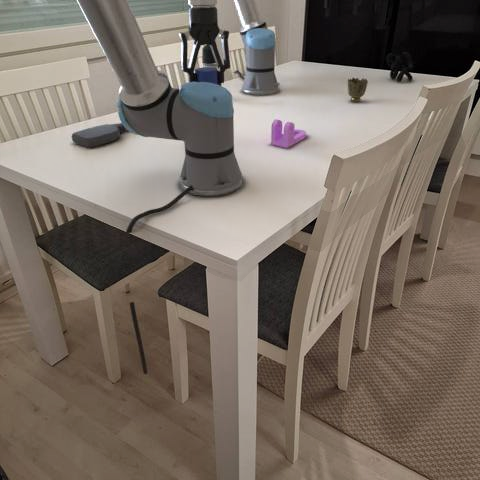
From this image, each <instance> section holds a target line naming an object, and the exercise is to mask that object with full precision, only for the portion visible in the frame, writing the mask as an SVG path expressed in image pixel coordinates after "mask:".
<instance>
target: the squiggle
mask: <svg viewBox="0 0 480 480" xmlns="http://www.w3.org/2000/svg"><path fill="white" fill-rule="evenodd" d="M401 57H402V59H401ZM391 59H392V60H391ZM393 60H394V61H393ZM385 61H386V64H387V67H390V68H391V70H390V72H389V78H390V79H391V80H395V79H396V81H397V82H399V83H400V82H402V81H403V79H404V76H406V78H407V80H408V81H412V80H413V79H414V77H413V75H412V74H411V73H410V72H409V71H410V70H412V69H413V68H414V64H413V61H412V57H411V54H410V53H409V52H408V51H403V53H402V54H401V55H396V54H394V53H392V52H390V53H387V55H386V57H385ZM406 62H407V65H408V66H407V67H405V66H404V65H405V64H406ZM400 70H401V71H400Z"/></svg>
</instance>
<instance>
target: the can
mask: <svg viewBox="0 0 480 480" xmlns="http://www.w3.org/2000/svg"><path fill="white" fill-rule="evenodd" d="M217 71H218V68H217V69H216V68H212V67H203V66H202V67H197V68H195V69H194V73H195V74H197V82H208V83H213V84H217V85H218V74H217Z"/></svg>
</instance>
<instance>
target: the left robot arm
mask: <svg viewBox="0 0 480 480" xmlns="http://www.w3.org/2000/svg"><path fill="white" fill-rule="evenodd" d="M76 2H77V4H78V5H79V7H80V9H81V11H82V14H83V15H84V17H85V19H86V21H87V22H88V24H89V27H90V28H91V31H92V33H93V34H94V36H95V38H96V40H97V42H98V44H99V46H100V48H101V49H102V52H103V53H104V56H105V57H106V60H107V61H108V63H109V65H110V67H111V69H112V72H114V74H115V77H116V79H117V81H118V82H119V84H120V87H119V90H118V97H117V104H116V106H117V108H118V109H119V110H118V111H117V114H118V118H119V120H120V123H122V124H123V126H124V127H125V128H126V129H127V130H126V131H128V132H129V133H131V134H133V135H136V136H140V137H142V138H143V137H144V138H154V139H155V138H156V139H164V140H172V141H181V142H183V143H184V154H185V155H184V158H183V164H182V168H181V171H180V177H179V178H180V179H179V183H180V184H179V185H180V188H181V189H182V192H180V193H179V194H178V195H177V196H176V197H174V198H173V199H172V200H171V201H170V202H168V203H167V204H165V205H163V206H161V207H157V208H152V209H148V210H146V211H144V212H141V213H140V214H137V215H135V216H134V217H133V218H132V219H131V220H130V221H129V223H128V225H127V228H126V231H125V233H126V234H127V235H128V234H131V233H132V230H133V229H134V226H135V225H136V224H137V222H138V221H139V220H141V219H143V218H145V217H148V216H150V215H153V214H154V215H155V214H158V213H162V212H165V211H167V210H168V209H171V207H173V206H174V205H175V204H177V203H178V202H179V201H180V200H181V199H183V198H184V197H185V196H186V195H187V194H190V195H194V196H199V197H221V196H224V195H229V194H232V193H234V192H235V191H237V190H239V189H240V188H241V187H242V185H243V174H242V171H241V168H240V165H239V163H238V160H237V157H236V154H235V132H234V131H235V129H234V127H235V126H234V122H235V121H234V114H235V109H234V102H233V96H232V93H231V91H230V90H228V88H226V87H224V86H223V85H222V84H224V83H225V72H226V70H229V69H231V59H230V48H229V36H230V32H229V30H228V29H227V30H226V29H220V27H219V23H218V22H219V20H218V19H219V18H218V17H219V16H218V8H217V7H216V5H217V4H218V0H187V2H188V3H187V4H188V5H189V6H190V7H189V8H188V19H189V21H188V22H189V27H188V30H186V31H181V32H179V33H178V36H179V39H180V70H181V71H182V72H183V73H187V76H188V77H187V79H188V82H185V83H183V84H181V86H180V87H179V88H176V87H172V85H171V82H170V80H169V77H168V75H167V74H166V73H165V72H163V71H162V70H159V69H157V67H156V64H155V61H154V59H153V56H152V54H151V52H150V49H149V47H148V45H147V43H146V40H145V37H144V35H143V32H142V30H141V28H140V26H139V24H138V22H137V18H136V16H135V14H134V12H133V9H132V7H131V5H130V2H129V0H76ZM218 36H219V37H220V38H221V39H220V43H221V44H220V45H221V51H222V58H221V54H220V52H219V49H218V44H217V42H216V39H217V37H218ZM190 37H191V38H192V40H193V43H192V49H191V53H190V58H189V62H188V49H189V48H188V46H189V45H188V41H189V39H190ZM206 45H209V46H210V47H211V50H212V53H213V56H214V59H215V62H216V63H215V64H216V65H217V74H218V85H217V84H213V83H208V82H197V74H195V69H196V65H197V61H198V56H199V52H200V49H201V47H202V46H206ZM129 308H130V313H131V318H132V324H133V328H134V332H135V333H134V334H135V337H136V342H137V346H138V351H139V356H140V362H141V367H142V372H143V374H144V375H147V374H148V367H147V362H146V355H145V350H144V346H143V341H142V336H141V331H140V326H139V322H138V317H137V312H136V305H135V301H131V302H129Z"/></svg>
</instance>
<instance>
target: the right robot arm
mask: <svg viewBox="0 0 480 480" xmlns="http://www.w3.org/2000/svg"><path fill="white" fill-rule="evenodd" d="M232 3H233V6H234V9H235V12H236V15H237V18H238V20H239V24H240V27H239V31H238V32H239V35H240V38H241V41H242V44H243V48H244V50H245V66H246V67H245V71H246V72H245V75H244V76H242V73H241V72H240V71H239V70H238V69H236V70H235V71H234V74H237V73H238V74H239V78H240V79H242V80H243V82H242V86H241V92H242V93H243V94H246V95H250V96H270V95H274V94H277V93H278V92H279V87H280V82H278V80H277V76H276V73H275V64H276V63H275V62H276V42H277V41H276V40H277V39H276V33H275V31H273V30H272V29H270V28H268V26H267V25H268V24H267V22H266V19H263V18H262V17H261V15H260V12H259V8H258V6H257V2H256V0H232ZM361 3H362V0H353V8H352V16H359V9H360V8H359V7H360V6H361ZM323 7H324V9H325V10H324V17H325V18H330V17H331V12H332V11H331V8H332V0H324V3H323Z"/></svg>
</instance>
